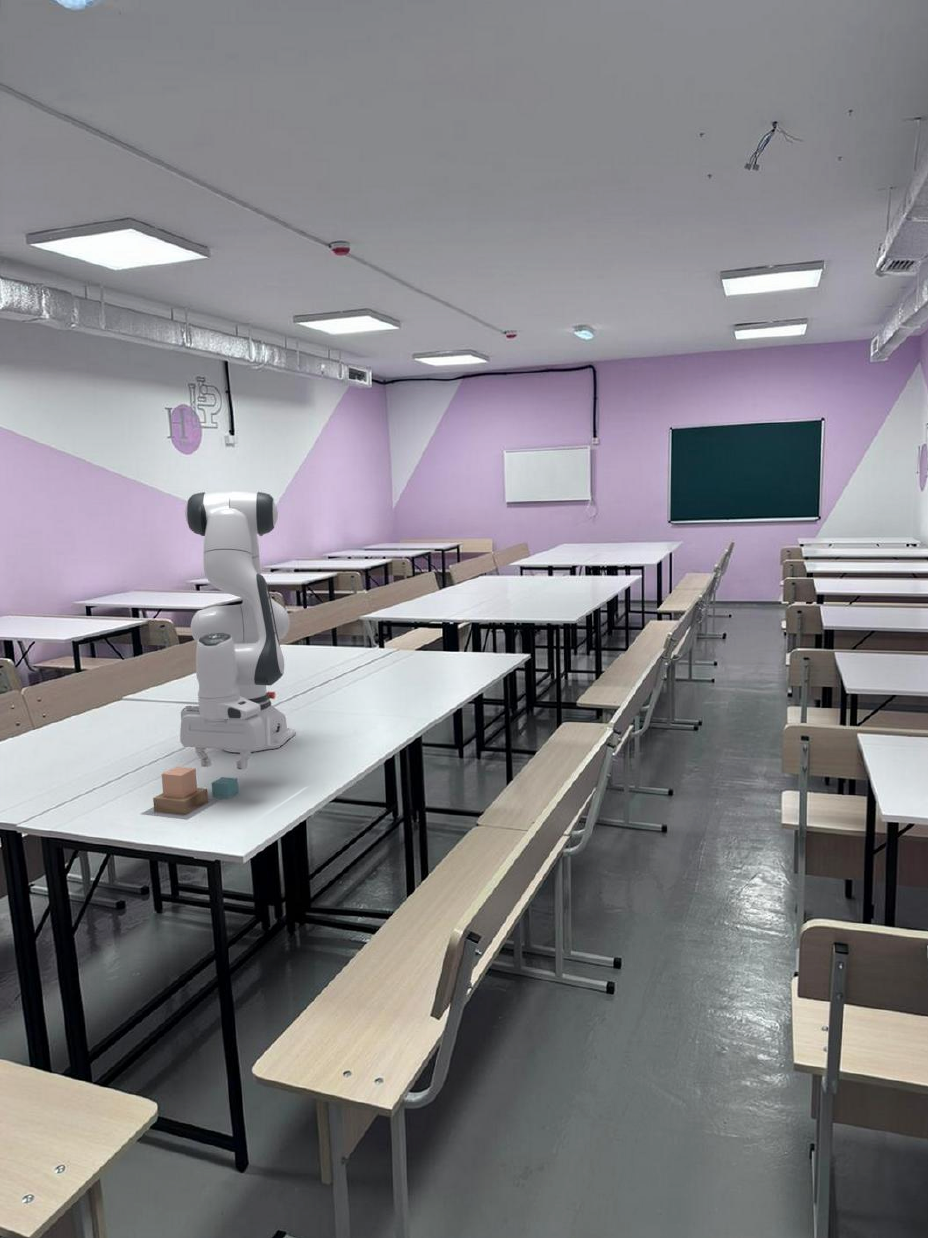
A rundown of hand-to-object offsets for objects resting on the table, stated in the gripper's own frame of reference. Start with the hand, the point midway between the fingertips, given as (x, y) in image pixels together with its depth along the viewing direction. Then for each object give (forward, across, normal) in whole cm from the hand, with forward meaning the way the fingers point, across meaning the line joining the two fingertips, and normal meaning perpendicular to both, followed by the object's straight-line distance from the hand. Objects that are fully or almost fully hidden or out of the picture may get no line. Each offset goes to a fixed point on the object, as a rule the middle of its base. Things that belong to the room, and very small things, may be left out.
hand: (224, 767), depth 188 cm
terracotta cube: (+4, -6, -8) cm, 11 cm away
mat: (+7, -6, -8) cm, 12 cm away
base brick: (+7, -6, -8) cm, 12 cm away
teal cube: (+7, -1, +1) cm, 7 cm away
